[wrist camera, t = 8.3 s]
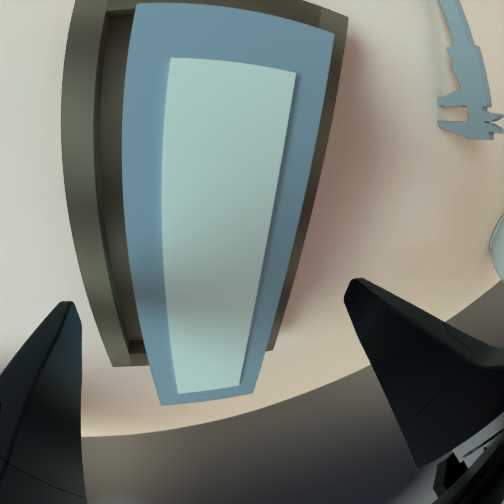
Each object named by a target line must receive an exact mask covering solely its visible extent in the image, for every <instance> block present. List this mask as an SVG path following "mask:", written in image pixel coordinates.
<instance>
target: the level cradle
mask: <svg viewBox="0 0 504 504" xmlns="http://www.w3.org/2000/svg"><path fill="white" fill-rule="evenodd" d="M140 3H189V4H203V5H214V6H223V7H230V8H237V9H243V10H249V11H254V12H259V13H264V14H269V15H273V16H277V17H282V18H285V19H289V20H293V21H297V22H300V23H303V24H307V25H310V26H313V27H316V28H319V29H322V30H325V31H328V32H331V33H333V34H334V41H333V48H332V54H331V60H330V67H329V73H328V79H327V85H326V90H325V96H324V102H323V107H322V113H321V118H320V123H319V128H318V134H317V139H316V144H315V149H314V154H313V159H312V163H311V168H310V173H309V178H308V182H307V187H306V192H305V196H304V201H303V205H302V209H301V214H300V218H299V223H298V227H297V231H296V235H295V240H294V244H293V248H292V252H291V256H290V260H289V264H288V268H287V272H286V276H285V280H284V284H283V288H282V292H281V295H280V299H279V303H278V307H277V311H276V314H275V318H274V322H273V325H272V329H271V333H270V336H269V340H268V343H267V347H266V350H265V351H271V350H273V348H274V345H275V342H276V339H277V336H278V332H279V329H280V326H281V323H282V319H283V316H284V312H285V309H286V306H287V302H288V299H289V295H290V292H291V288H292V285H293V281H294V278H295V274H296V270H297V267H298V263H299V259H300V256H301V252H302V248H303V244H304V240H305V236H306V232H307V229H308V225H309V221H310V217H311V212H312V208H313V204H314V200H315V196H316V192H317V187H318V183H319V179H320V174H321V170H322V165H323V161H324V156H325V151H326V147H327V142H328V137H329V132H330V127H331V122H332V117H333V112H334V106H335V101H336V95H337V90H338V84H339V78H340V72H341V66H342V60H343V54H344V47H345V40H346V33H347V26H348V18H349V17H346V16H344V15H341V14H339V13H337V12H334V11H331V10H329V9H326V8H323V7H321V6H318V5H315V4H312V3H309V2H306V1H303V0H76V1H75V4H74V9H73V13H72V18H71V22H70V27H69V33H68V39H67V45H66V52H65V60H64V69H63V81H62V97H61V145H62V162H63V174H64V184H65V193H66V200H67V207H68V214H69V220H70V226H71V231H72V236H73V241H74V246H75V251H76V255H77V259H78V264H79V268H80V272H81V275H82V279H83V283H84V286H85V290H86V293H87V297H88V300H89V303H90V306H91V310H92V313H93V316H94V319H95V322H96V325H97V327H98V330H99V333H100V336H101V338H102V341H103V344H104V346H105V349H106V351H107V354H108V356H109V359H110V361H111V363H112V366H113V367H124V366H146V365H149V361H148V357H147V353H146V349H145V345H144V340H143V336H142V331H141V327H140V322H139V317H138V312H137V307H136V301H135V295H134V290H133V283H132V277H131V270H130V263H129V255H128V247H127V238H126V228H125V216H124V202H123V183H122V117H123V99H124V85H125V75H126V66H127V57H128V50H129V43H130V37H131V31H132V25H133V20H134V15H135V10H136V5H137V4H140Z"/></svg>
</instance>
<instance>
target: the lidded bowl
mask: <svg viewBox="0 0 504 504" xmlns="http://www.w3.org/2000/svg"><path fill="white" fill-rule="evenodd" d="M489 250H490V251H491V255H492V261H493V265H494V268H495V270H496V272H497V274H498V275H499V277H500V279H501V280H502V281H503V282H504V215H503V216H502V217H501V219H500V220H499V222H498V224H497V226H496V228H495V230H494V232H493V235H492V238H491V241H490V245H489Z"/></svg>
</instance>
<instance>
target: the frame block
mask: <svg viewBox="0 0 504 504" xmlns="http://www.w3.org/2000/svg"><path fill="white" fill-rule="evenodd" d="M333 41H334V34H333V33H331V32H328V31H325V30H322V29H319V28H316V27H313V26H310V25H307V24H303V23H300V22H297V21H293V20H289V19H285V18H282V17H277V16H273V15H269V14H264V13H259V12H254V11H249V10H243V9H237V8H230V7H223V6H214V5H203V4H189V3H140V4H137V5H136V10H135V15H134V20H133V25H132V31H131V37H130V43H129V50H128V57H127V66H126V75H125V85H124V99H123V117H122V183H123V202H124V216H125V228H126V238H127V247H128V255H129V263H130V270H131V277H132V283H133V290H134V295H135V301H136V307H137V312H138V317H139V322H140V327H141V331H142V336H143V340H144V345H145V349H146V353H147V357H148V361H149V365H150V369H151V372H152V376H153V380H154V383H155V387H156V390H157V393H158V397H159V400H160V403H161V406H162V405H174V404H185V403H194V402H202V401H209V400H216V399H223V398H229V397H235V396H240V395H246V394H251V393H253V391H254V388H255V385H256V381H257V378H258V375H259V371H260V368H261V364H262V361H263V357H264V354H265V350H266V347H267V343H268V340H269V336H270V333H271V329H272V325H273V322H274V318H275V314H276V311H277V307H278V303H279V299H280V295H281V292H282V288H283V284H284V280H285V276H286V272H287V268H288V264H289V260H290V256H291V252H292V248H293V244H294V240H295V235H296V231H297V227H298V223H299V218H300V214H301V209H302V205H303V201H304V196H305V192H306V187H307V182H308V178H309V173H310V168H311V163H312V159H313V154H314V149H315V144H316V139H317V134H318V128H319V123H320V118H321V113H322V107H323V102H324V96H325V90H326V85H327V79H328V73H329V67H330V60H331V54H332V48H333Z"/></svg>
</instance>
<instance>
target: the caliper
mask: <svg viewBox="0 0 504 504" xmlns="http://www.w3.org/2000/svg"><path fill="white" fill-rule="evenodd" d="M439 2H440V5H441V7H442V10H443V13H444V15H445V18H446V21H447V24H448V27H449V30H450V34H451V37H452V40H453V44H454V46H450V47H447V52H448V54H449V56H450V59H451V68H452V70H453V72H454V74H455V76H456V78H457V79H458V80H459V86H460V89H459V90H457V91H455V92H452V93H450V94H448V95H446V96H444V97H441V98H439V99H438V100H437V106H448V107H467V113H468V119H469V122H465V121H438V124H439V126H440V128H442V129H445V130H447V131H450V132H452V133H455V134H457V135H460V136H463V137H465V138H468V139H482V140H494V133H501V134H502V133H504V130H503V129H502V128H501V127H499V126H498V125H496V124H491V123H489V121H492V122H494V121H498V120H499V119H501V118H503V117H504V114H496V113H490V112H488V111H487V107H491V106H492V104H491V96H490V90H489V85H488V80H487V75H486V70H485V66H484V62H483V58H482V54H481V50H480V47H478V46H476V45H474V41H473V38H472V35H471V31H470V28H469V25H468V22H467V19H466V17H465V14H464V11H463V8H462V6H461V3H460V1H459V0H439Z"/></svg>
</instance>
